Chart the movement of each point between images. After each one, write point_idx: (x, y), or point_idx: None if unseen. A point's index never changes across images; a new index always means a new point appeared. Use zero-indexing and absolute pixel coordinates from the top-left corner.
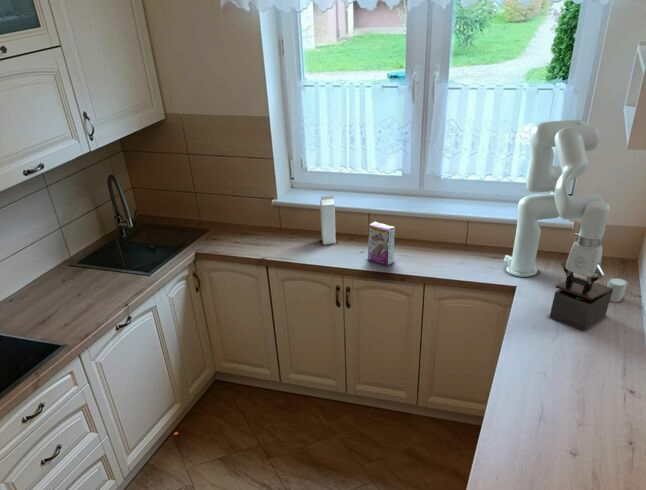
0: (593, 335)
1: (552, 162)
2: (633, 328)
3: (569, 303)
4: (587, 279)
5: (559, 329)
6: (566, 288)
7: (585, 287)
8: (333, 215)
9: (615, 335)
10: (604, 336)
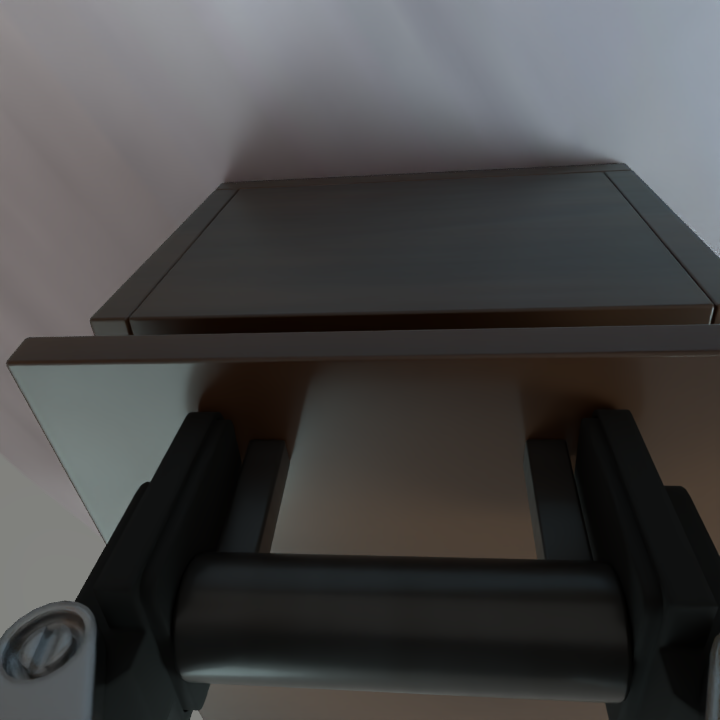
0: (114, 172)
1: None
2: (51, 470)
3: (437, 265)
4: (85, 712)
5: (400, 5)
6: (587, 385)
7: (160, 504)
8: None
9: (28, 307)
10: (54, 229)
